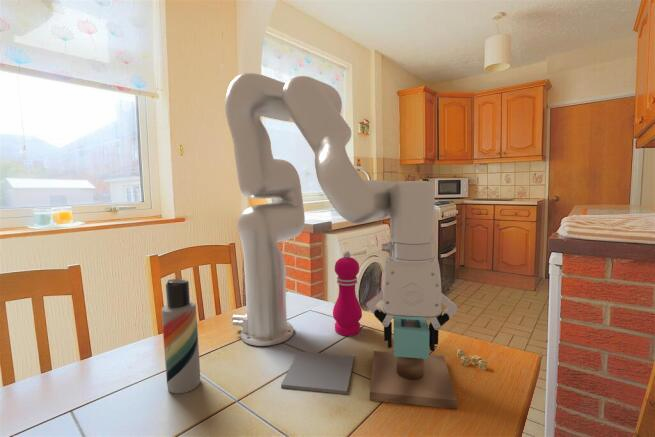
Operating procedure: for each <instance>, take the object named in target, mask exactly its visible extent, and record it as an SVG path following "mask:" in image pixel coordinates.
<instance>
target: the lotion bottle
mask: <svg viewBox="0 0 655 437" xmlns="http://www.w3.org/2000/svg"><path fill="white" fill-rule="evenodd" d="M165 294H166V304H165V305H164V306H163V307H162V308H161V321H162V322H161V324H162V336H163V338H162V339H163V349H164V363H165V375H166V387H167V390H168V391H169V392H170V393H172V394H176V395H177V394H178V395H179V394H185V393H188V392H191V391H192V390H194V389H196V388H197V387H198V386H199V385H200V383H201V366H200V365H201V364H200V350H199V347H200V346H199V332H198V318H197V305H196V302H194V301H191V296H190V295H191V294H190V282H189V280H187V279H184V278H171V279H168V280H167V281H166V283H165Z"/></svg>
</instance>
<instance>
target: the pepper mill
mask: <svg viewBox="0 0 655 437" xmlns="http://www.w3.org/2000/svg"><path fill="white" fill-rule="evenodd" d="M342 255H343V257H340V258H339V259H338V260H336V262H335V263H334V272H335V274H336V275H337V277H336V283H337V285H338V295H337V298H336V301H335V303H334V305H333V310H332V317H333V319H334V320H335V323H334V332H335V333H336V334H338V335H340V336H345V337H352V336H355V335H358V334H359V333H360V332H361V322H360V320H361V319H362V318H363V317H362V316H363V310H362V307H361V304H360V302H359V300H358V297H357V295H356V294H357V293H356V285H357V284H358V277H357V275H358V274H359V273H360V265H359V262H358V261H357V259H355V258H353V257H351V252H350V251H349V250H345V251H344V252H343V254H342Z"/></svg>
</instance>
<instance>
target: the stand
mask: <svg viewBox="0 0 655 437" xmlns="http://www.w3.org/2000/svg"><path fill="white" fill-rule="evenodd" d="M404 327H415V328H417V321H415V320H412V319H407V320H405V321H404ZM371 363H372V366H371V375H370V376H371V377H370V384H369V400H370V401H375V402H385V403H395V404H402V405H403V404H404V405H405V404H406V405H412V406H413V405H415V406H424V407H433V408H434V407H435V408H445V409H453V410H454V409H457V407H458V398H457V396H456V393H455V390H454V386H453V382H452V380H451V377H450V372H449V369H448V367H447V366H448V365H447V362H446V359H445V356H444V355H435V354H429V359H421V358H408V357H395V356H394V351H383V350H382V351H381V350H373V353H372V362H371Z"/></svg>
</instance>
